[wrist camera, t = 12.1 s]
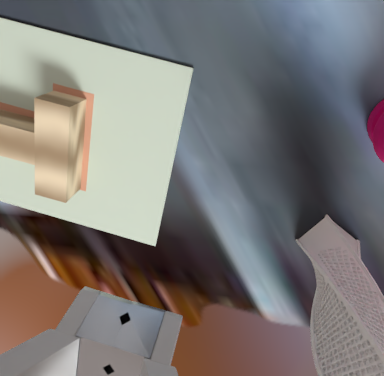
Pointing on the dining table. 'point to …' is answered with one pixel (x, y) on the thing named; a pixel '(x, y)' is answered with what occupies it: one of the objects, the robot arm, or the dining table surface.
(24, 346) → the robot arm
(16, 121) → the T block
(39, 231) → the dining table surface
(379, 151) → the pepper mill
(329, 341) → the skyscraper
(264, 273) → the dining table surface
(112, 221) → the mat
